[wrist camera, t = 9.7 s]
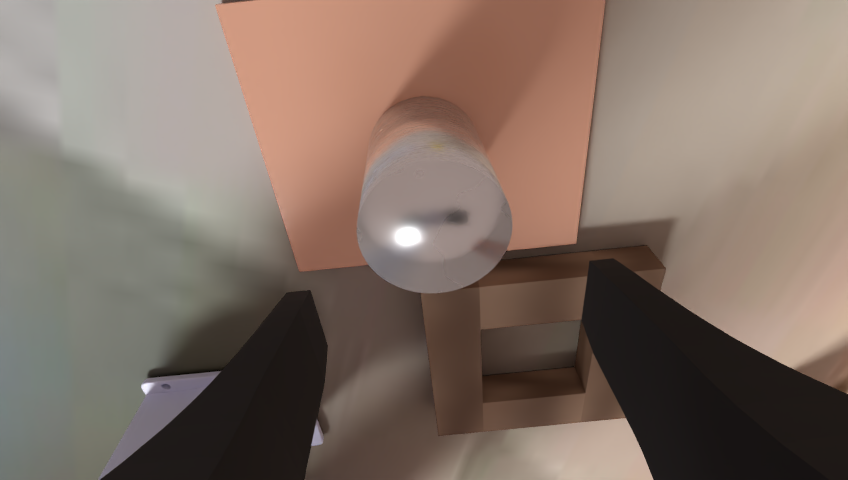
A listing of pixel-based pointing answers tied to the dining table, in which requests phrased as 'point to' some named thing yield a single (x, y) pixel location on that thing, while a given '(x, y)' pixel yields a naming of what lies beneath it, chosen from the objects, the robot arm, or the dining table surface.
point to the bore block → (516, 306)
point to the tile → (412, 77)
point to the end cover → (430, 199)
